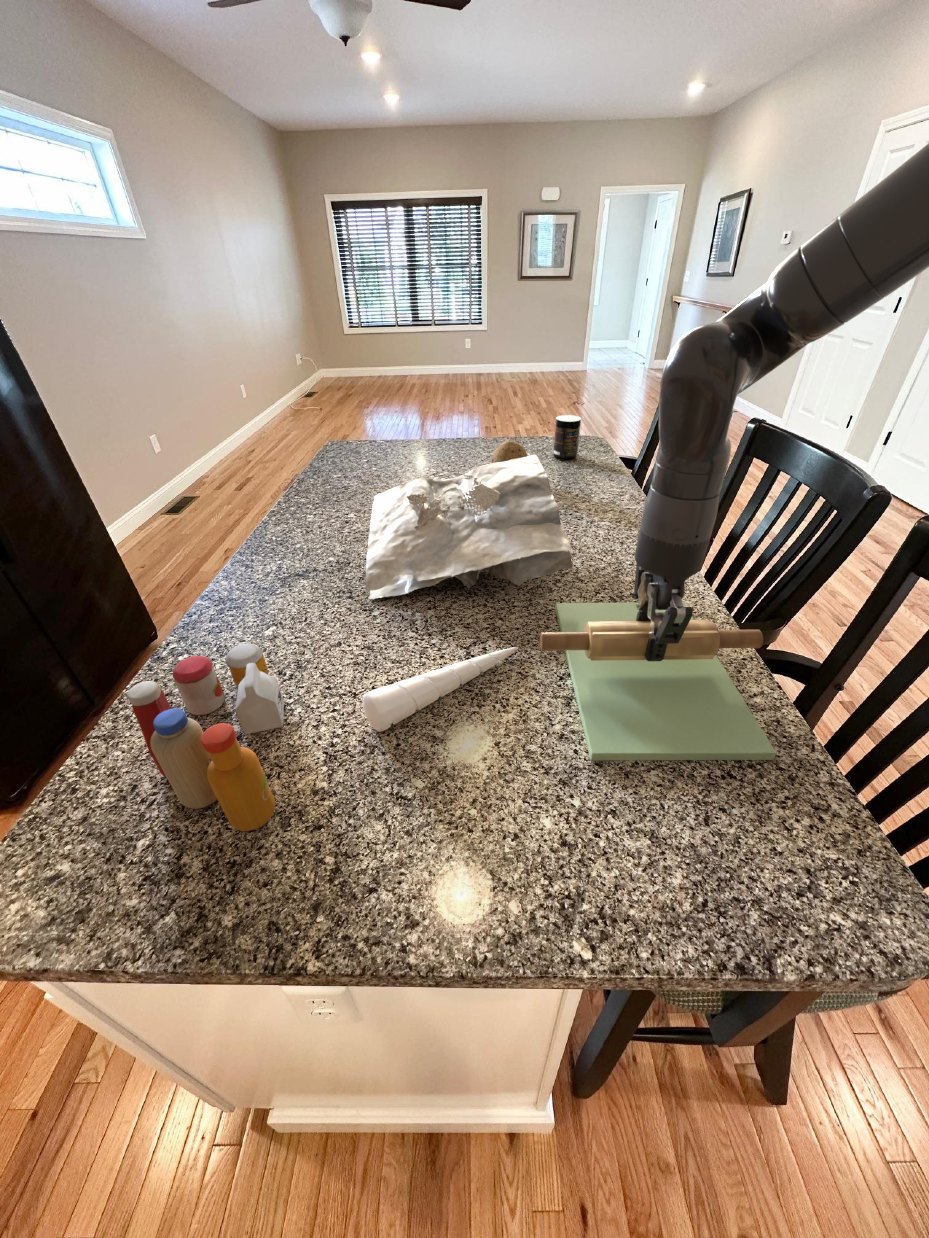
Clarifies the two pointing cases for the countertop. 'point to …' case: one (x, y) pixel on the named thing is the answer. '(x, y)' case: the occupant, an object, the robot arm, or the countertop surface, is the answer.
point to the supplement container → (566, 437)
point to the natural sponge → (508, 452)
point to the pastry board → (657, 701)
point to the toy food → (213, 735)
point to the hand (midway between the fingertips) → (647, 646)
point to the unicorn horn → (423, 689)
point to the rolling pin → (633, 637)
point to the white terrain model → (466, 529)
